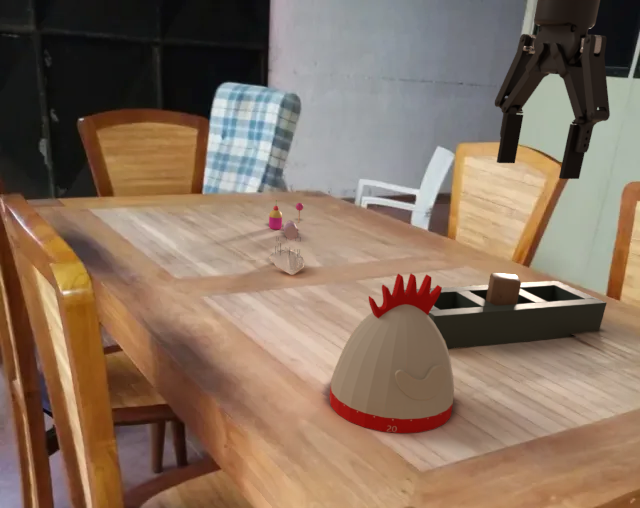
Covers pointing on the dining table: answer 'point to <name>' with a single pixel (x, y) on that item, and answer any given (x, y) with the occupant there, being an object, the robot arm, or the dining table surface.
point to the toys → (289, 226)
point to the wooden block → (503, 289)
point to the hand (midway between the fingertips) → (535, 170)
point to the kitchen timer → (396, 365)
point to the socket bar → (514, 314)
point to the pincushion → (287, 260)
